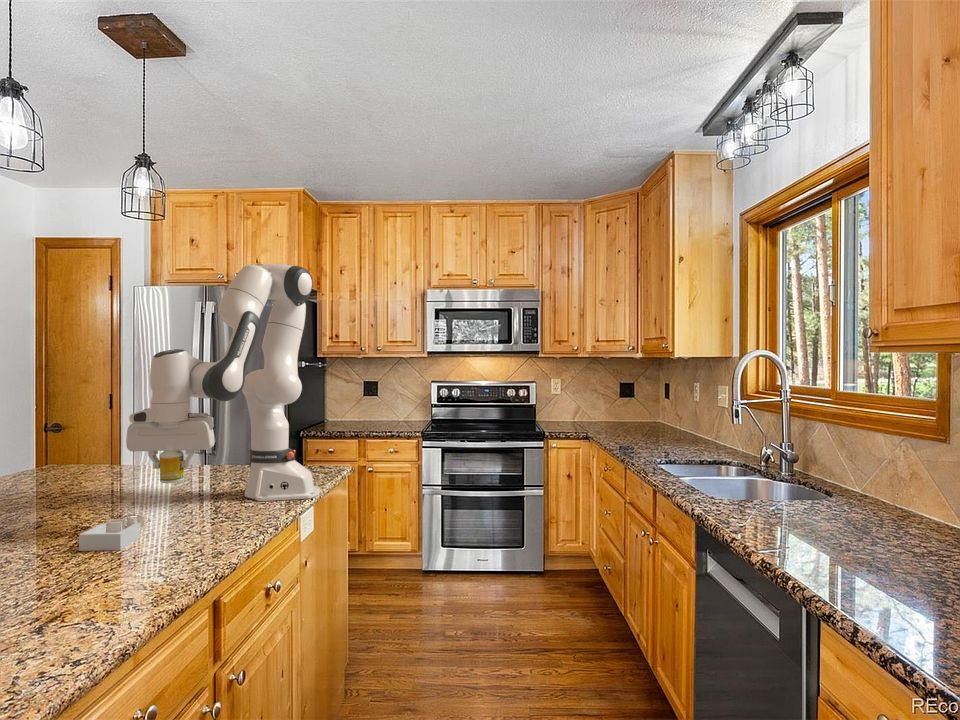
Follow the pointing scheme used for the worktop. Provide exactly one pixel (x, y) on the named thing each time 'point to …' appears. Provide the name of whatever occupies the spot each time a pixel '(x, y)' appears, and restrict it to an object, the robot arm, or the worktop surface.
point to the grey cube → (115, 525)
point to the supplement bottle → (171, 465)
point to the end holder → (108, 538)
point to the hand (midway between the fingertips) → (171, 467)
